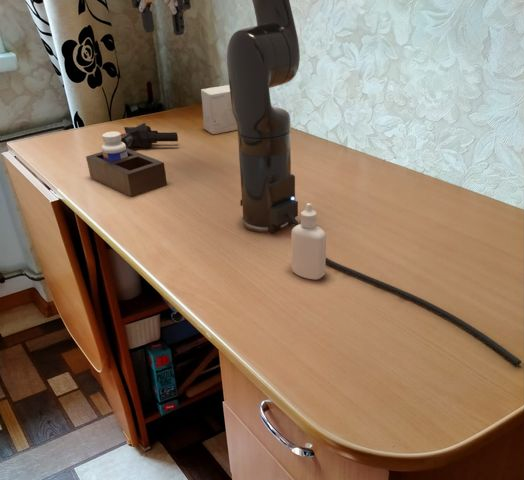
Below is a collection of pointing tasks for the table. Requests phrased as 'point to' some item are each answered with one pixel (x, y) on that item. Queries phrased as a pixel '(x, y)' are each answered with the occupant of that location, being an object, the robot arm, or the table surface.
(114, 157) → the pill bottle
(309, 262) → the eye dropper bottle
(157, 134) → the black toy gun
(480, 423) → the table surface
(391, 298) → the table surface
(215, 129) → the cosmetics box
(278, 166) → the robot arm
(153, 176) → the rack
